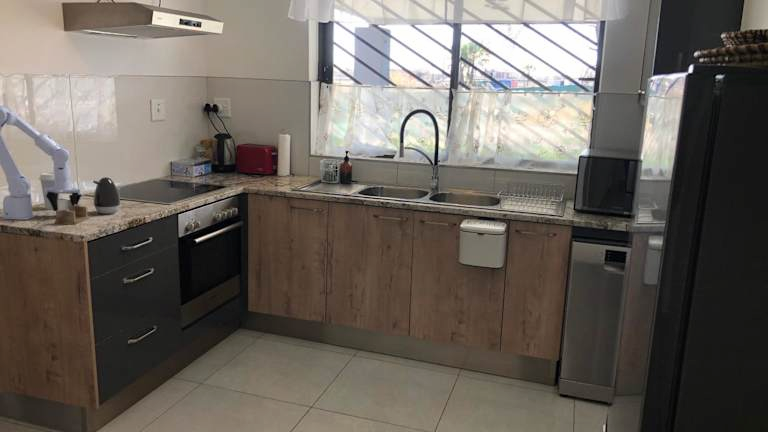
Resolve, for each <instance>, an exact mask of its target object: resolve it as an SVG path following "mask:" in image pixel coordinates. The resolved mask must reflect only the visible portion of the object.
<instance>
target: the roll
mask: <svg viewBox="0 0 768 432" xmlns="http://www.w3.org/2000/svg"><path fill="white" fill-rule="evenodd" d="M57 205H58V210H60V211H62V209H68V206H71V200H70V197H63V198H61V199H57Z"/></svg>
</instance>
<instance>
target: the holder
mask: <svg viewBox="0 0 768 432" xmlns="http://www.w3.org/2000/svg"><path fill="white" fill-rule="evenodd" d="M55 216H56V217H55V218H56V220H54V224H55V225H57V224H58V225H73V226H75V225H78V224H79V223H82V222H84V221H86V220H87V221H88V220H90V215H88V207H87V206H86V205H85V206H82V204H78V205H74V206H68V209H62V211H60V210H57V211H55Z"/></svg>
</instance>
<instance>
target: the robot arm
mask: <svg viewBox="0 0 768 432" xmlns="http://www.w3.org/2000/svg"><path fill="white" fill-rule="evenodd" d="M5 125H9V126H14V127H16V128H18V129H19V130H21V132H23V133H25V135H27V136H28V137H30V138H31V139H32V140H33V141H34V145H35V146H36V147H37V148H38V149H40V150H41V151H43V153H45V154H46V155H48V156H51V157H50V158H51V160H52V162H53V172H54V179H55V188H44V191H45V193H48V194H47V195H46V197H47V198H48V200H49V201H50V203H51V205H52V207H53V212H56V211H57V210H58V205H57V199H58V194H59V193H63V195H64V194H66V195H67V194H68V198H70V200H71V206H74V205H79V202H80V200H81V197H82V195H83V189H82V188H73V187H72V180H71V169H70V161H69V158H70V152H69V150H67V148H65V147H63V145H62V144H58V142H56V141H55V140H54V139H52V136H51V135H50V134H49V135H48V134H46V133H40V132H39V131H38V130H37V129H35V128H34V127H33V126H32V125H31V124H30V123H28V122H27V121H26V120H25V119H24V118H23V117H21V116H20V115H19V114H17V113H16V112H15V111H13V110H11V109H10V108H9V107H8V106H6V105H0V166H1V169H2V171H3V172H4V175H5V178H6V179H5V180H6V182H7V185H8V192H9V195H5V196H4V197H3V200H2V211H3V217H2V219H4V220H19V221H20V220H22V221H23V220H24V221H27V220H30V219H32V218H35V217H38V214H33V201H32V194H31V193H30V192H29V191H30V189H31V186H32V185H31V182H30V180H29V179H27V177H25V175H24V174H23V172H22V171H21V170H20V169H19V167H18V165H17V163H16V161H15V159H14V157H13V155H12V153H11V151H10V149H9V146H8V145H7V143H6V142H5V139H4V137H3V135H2V134H1V131H2V129H3V127H4V126H5Z"/></svg>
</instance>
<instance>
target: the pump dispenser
mask: <svg viewBox="0 0 768 432" xmlns="http://www.w3.org/2000/svg"><path fill="white" fill-rule="evenodd" d="M92 183H94V184H96V187H95V190H94V194H93V195H94V196H93V206H94V207H95V210H96V211H97V212H98V213H99V214H101V215H111V214H115V213H116V212H117V211H119V208H120V206H121V199H120V194H119V191H118V188H117V186H116V184H115V183H114V181H113V180H112V178H110V177H106V176H105V177H101V178H100V179H99V180H93V182H92Z"/></svg>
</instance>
